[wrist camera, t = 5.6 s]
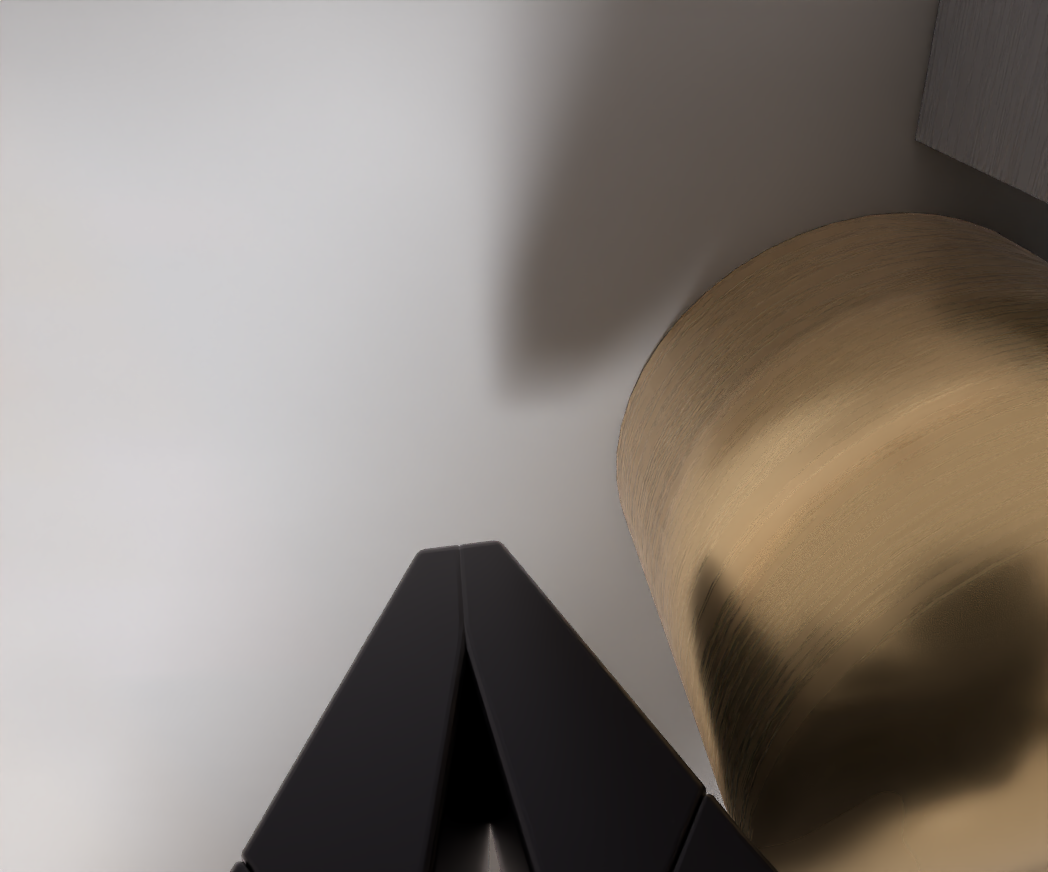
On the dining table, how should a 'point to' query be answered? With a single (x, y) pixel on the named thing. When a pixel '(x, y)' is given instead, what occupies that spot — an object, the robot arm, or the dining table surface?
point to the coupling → (859, 542)
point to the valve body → (990, 90)
